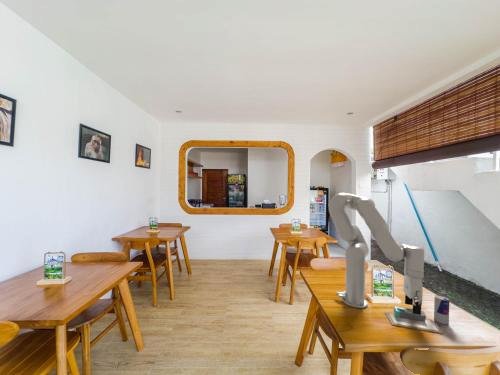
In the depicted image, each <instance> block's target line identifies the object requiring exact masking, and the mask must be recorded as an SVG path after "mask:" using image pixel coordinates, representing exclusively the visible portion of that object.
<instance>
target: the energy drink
mask: <svg viewBox="0 0 500 375" xmlns="http://www.w3.org/2000/svg"><path fill="white" fill-rule="evenodd" d="M433 303H434V304H433V307H434V308H433V321H434V322H435V324H436V325H437V326H440V327H445V328H446V327H449V325H450V299H449V298H448V297H446V296H443V295H438V294H437V295H435V296H434V302H433Z"/></svg>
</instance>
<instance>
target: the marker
mask: <svg viewBox="0 0 500 375" xmlns="http://www.w3.org/2000/svg"><path fill="white" fill-rule="evenodd" d="M393 314H395V317H398V318H399V317H400V318H406V319H411V320H417V321H422V322H425V320H426V319H427V315H426V313H425V312H424V311H423V310H421V315H418V314H413V308H406V307H402V306H397V305H395V306H394V307H393Z"/></svg>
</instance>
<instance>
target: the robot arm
mask: <svg viewBox="0 0 500 375" xmlns="http://www.w3.org/2000/svg"><path fill="white" fill-rule="evenodd" d="M346 209H351V210H355V211H356V212H358V215H359V216H360V217H361V219H362V220H363V222H364V223H365V225H366V226H367V227H368V229H369V231H370V233H371V235H372V236H373V238H374V240H375V242H376V243H377V244H376V245H378V248H380V250H381V251H382V252H383V254H384V255H385V257H386V258H387V259H388V260H390V261H392V262H396V263H397V262H400V261H402V260H403V259H404V265H403V266H404V269H403V270H404V273H403V274H404V277H403V288H402V290H403V292H404V304H405V305H410V306H412V309H413V314H418V315H421V311H422V304H423V291H424V290H423V279H424V275H425V274H424V272H425V269H424V268H425V249H424V248H422V247H421V246H416V245H408V244H405V243H404V244H403V243H401V242H400V243H399V242H396V240H395V239H394V237H393V235H392V234H391V232H390V230H389V228H388V224H387V221H386V220H385V219H384V217H383V216H382V214H381V212H379V210H378V209H377V207H376V203H375V201H374V200H373V199H371V198H368V197H365V196H359V195H356V194H351V193H349V192H348V193H346V192H339V193H336V194H334V195H333V196H332V197H331V198H330V200H329V203H328V213H329V215H330V218H331V220H332V222H333V224H334V227H335V229H336V232H337V235H338V237H339V238H340V240H341V241H343V242H345V243H347V244H348V246H347V248H346V249H345V290H344V291H342V292H340V291H335V295H336V296H337V297H338V298H341V301H342V302H343V304H345V305H347V306H349V307H352V308H355V309H365V308H367V307H368V304H369V303H368V301H367V300H366V299H365V295H366V294H365V293H366V291H365V290H366V257H367V256H368V255H369V252H370V251H369V246H368V244H367V242H366V239H365V238H364V235H363V233H362V231H361V229H360V228H359V226H358V225H356V224H355V223H352V222H351V220H350V218H349V216H348V214H347V212H346Z"/></svg>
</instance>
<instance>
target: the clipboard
mask: <svg viewBox="0 0 500 375" xmlns="http://www.w3.org/2000/svg"><path fill="white" fill-rule="evenodd" d="M384 314H385V316H386V318H387V319H388V321H389V324H390V325H391V326H394V327H395V326H396V327H399V328H406V329H412V330H419V331H421V332H422V331H424V332H429V333H435V334H441V335H445V332H444V331H443V330H442V329H441V328H440V327H439V325H438V324H436V323H435V322H434V319H431V318H426V320H425V322H422V321H417V320H411V319H406V318H400V317H399V318H398V317H395V314H394V312H386V311H385V312H384Z"/></svg>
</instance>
